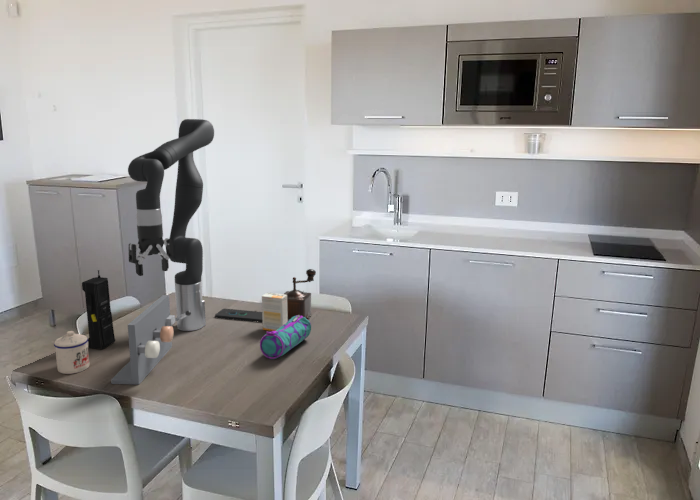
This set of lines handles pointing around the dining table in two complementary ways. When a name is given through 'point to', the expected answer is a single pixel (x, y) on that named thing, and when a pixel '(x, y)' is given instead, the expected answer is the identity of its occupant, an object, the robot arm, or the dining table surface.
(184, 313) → the toggle lever
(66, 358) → the teacup with lid
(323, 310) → the dining table surface
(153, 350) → the cream button
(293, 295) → the manual coffee grinder
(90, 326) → the portable radio
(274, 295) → the supplement box
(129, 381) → the control panel
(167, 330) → the terracotta button
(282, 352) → the pencil case
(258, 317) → the smart home device
